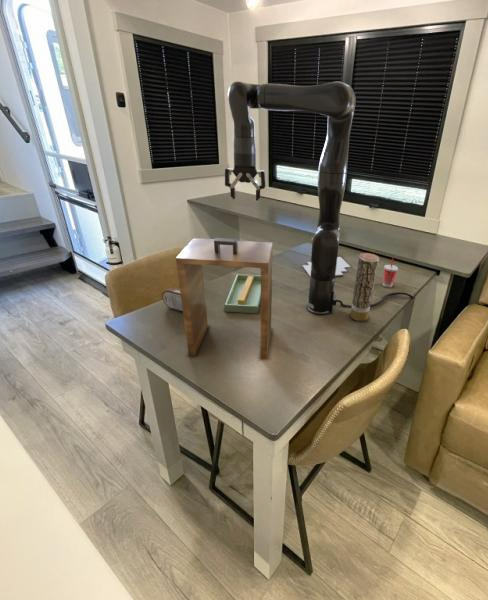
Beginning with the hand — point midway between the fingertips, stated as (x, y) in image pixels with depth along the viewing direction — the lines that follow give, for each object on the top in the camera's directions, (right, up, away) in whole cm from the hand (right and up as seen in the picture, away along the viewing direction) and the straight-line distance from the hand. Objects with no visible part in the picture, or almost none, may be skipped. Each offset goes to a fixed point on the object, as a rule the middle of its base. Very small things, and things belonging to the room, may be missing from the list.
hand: (245, 199), depth 121 cm
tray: (-2, -35, +15) cm, 38 cm away
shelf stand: (-2, -51, -13) cm, 52 cm away
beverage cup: (+60, -30, +32) cm, 75 cm away
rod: (-3, -34, +16) cm, 38 cm away
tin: (-24, -41, +2) cm, 48 cm away
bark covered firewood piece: (+43, -44, +6) cm, 61 cm away
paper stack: (+33, -20, +46) cm, 60 cm away
